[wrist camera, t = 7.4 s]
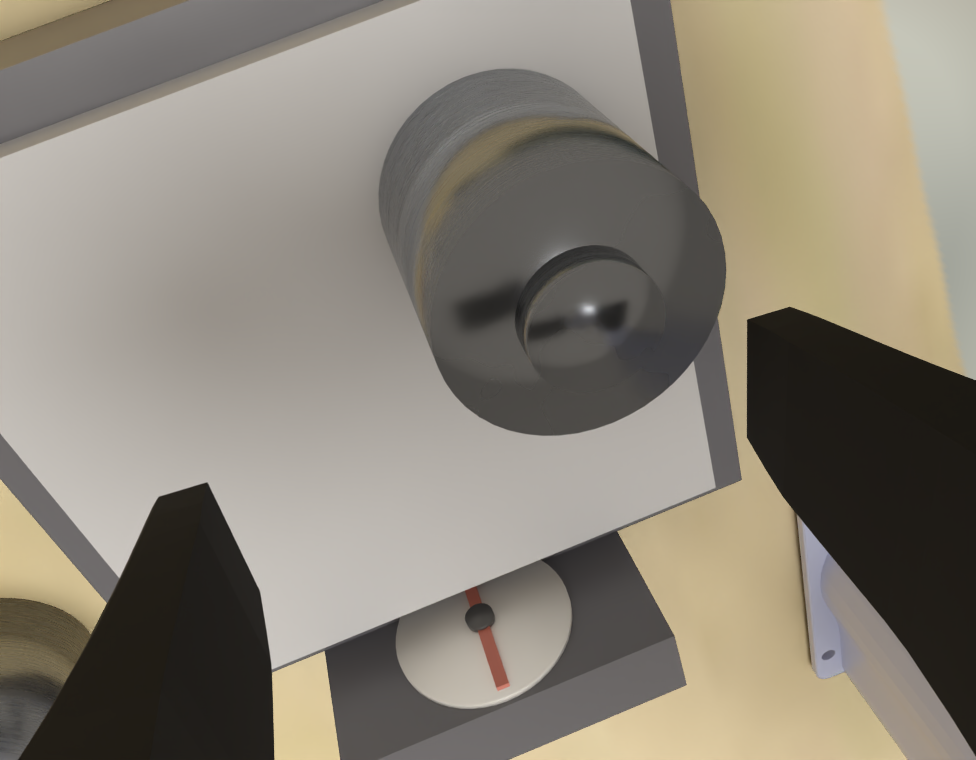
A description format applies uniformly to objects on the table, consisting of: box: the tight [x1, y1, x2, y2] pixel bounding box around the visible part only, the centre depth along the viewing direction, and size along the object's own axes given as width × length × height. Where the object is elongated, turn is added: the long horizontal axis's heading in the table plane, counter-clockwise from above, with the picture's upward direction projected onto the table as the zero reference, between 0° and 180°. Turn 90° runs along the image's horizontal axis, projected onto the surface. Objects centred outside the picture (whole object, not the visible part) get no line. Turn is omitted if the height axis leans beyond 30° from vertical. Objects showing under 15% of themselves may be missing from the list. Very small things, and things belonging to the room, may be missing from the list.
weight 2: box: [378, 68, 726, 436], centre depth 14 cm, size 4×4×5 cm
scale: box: [0, 0, 742, 760], centre depth 19 cm, size 17×15×6 cm
